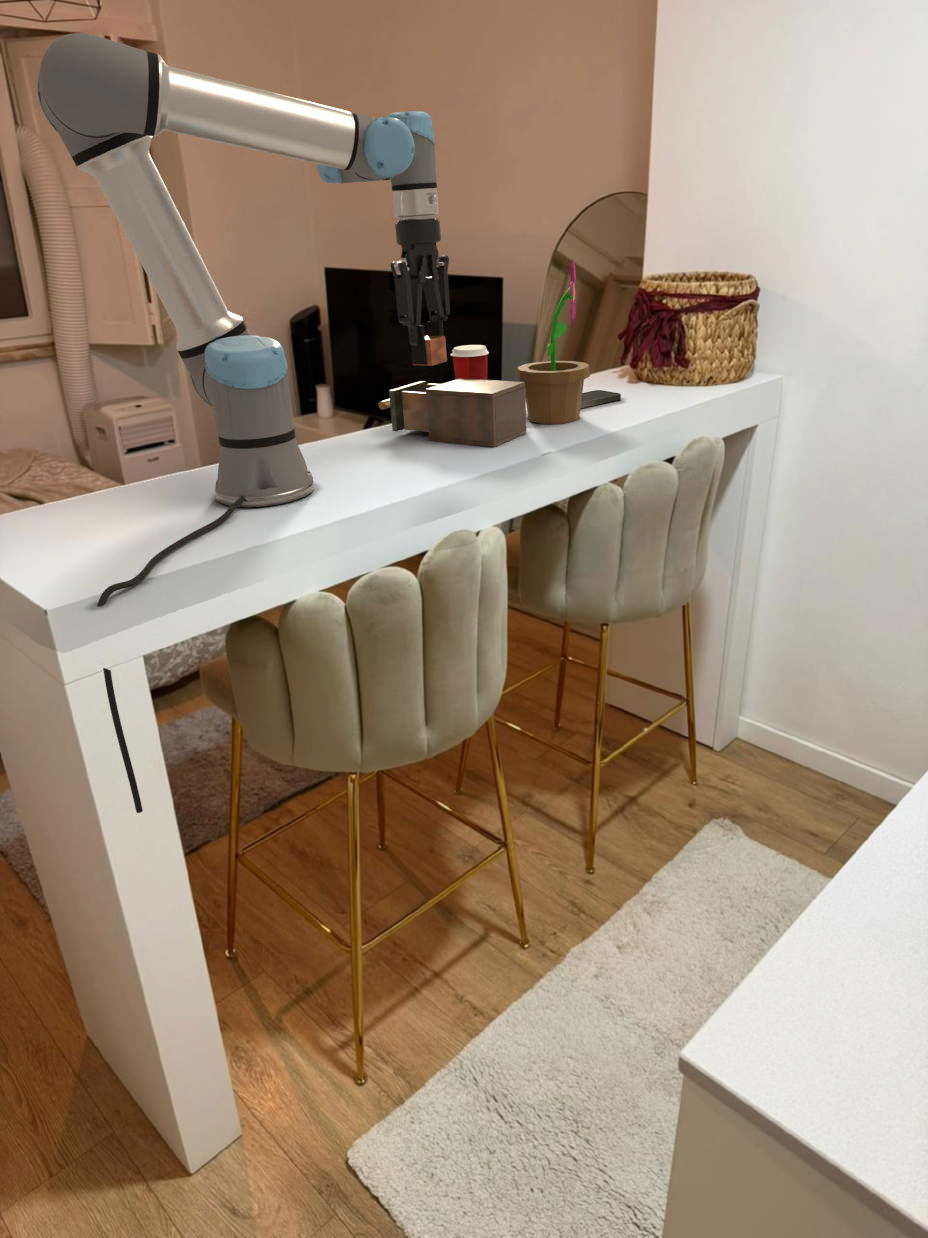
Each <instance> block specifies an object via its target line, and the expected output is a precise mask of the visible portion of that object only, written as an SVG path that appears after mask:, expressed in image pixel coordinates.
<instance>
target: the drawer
mask: <svg viewBox="0 0 928 1238" xmlns="http://www.w3.org/2000/svg"><path fill="white" fill-rule="evenodd" d="M440 384H441V383H431V382H430V383H427V381H426V380H419V381H416V382H413V383H409V384H407V385H403V386H399V387H396V388H393V389H389V390H388V395H389V397H388V398H387V399H384V400H381V401H379V402H378V408H379V409H380V410H382V411H383V410H386V409H389V408H390V418H391V430H392V432H400V431H402V430H405V431H415V432H425V433H429V430H428V416H427V402H426V389H427V388H431V387H434V386H437V385H440Z"/></svg>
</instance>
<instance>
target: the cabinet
mask: <svg viewBox="0 0 928 1238" xmlns="http://www.w3.org/2000/svg"><path fill="white" fill-rule="evenodd" d="M439 384H440V385H437V386H434V387H431V388H427V387H426V402H427V416H428V430H429V432H428V440H429V441H432V442H443V443H451V444H461V445H469V446H480V447H488V448H489V447H490V448H497V447H498V446H500V445H503V444H505V443H507V442H509V441H512V440H514V439H516V438H519V437H521V436H523V435H526V434H527V405H526V397H525V382H522V381H515V380H514V381H511V380H497V379H496V380H494V379H487V380H481V379H464V378H460V379H457V380H455V379H454V380H451V381H447V382H444V383H439Z"/></svg>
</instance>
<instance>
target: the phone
mask: <svg viewBox="0 0 928 1238" xmlns="http://www.w3.org/2000/svg"><path fill="white" fill-rule="evenodd" d="M621 399H622V394H621V393H619V392H614V391H608V390H601V389H596V390H589V391H586V392H582V400H581V407H580V409H585V408H588V407H593V406H598V405H603V404H607V403H610V402H616V401H621Z"/></svg>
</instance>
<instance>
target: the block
mask: <svg viewBox="0 0 928 1238" xmlns="http://www.w3.org/2000/svg"><path fill="white" fill-rule="evenodd" d="M446 342H447V341H446V336H445V335H444V336H428V335H425V346H426V358H427V364H425V365H424V366H427V367H428V366H431V367H433V366H437V365H440V364H443V363H446V362H448V356H447V355H448V354H447V345H446ZM412 366H422V365H421V364H412Z"/></svg>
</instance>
